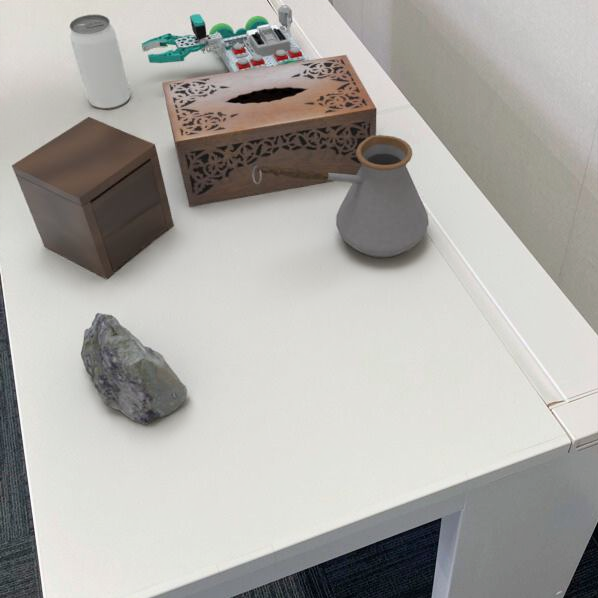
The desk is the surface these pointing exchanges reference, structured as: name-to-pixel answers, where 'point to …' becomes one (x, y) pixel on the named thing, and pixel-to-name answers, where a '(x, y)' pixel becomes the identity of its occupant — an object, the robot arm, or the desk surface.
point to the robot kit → (234, 43)
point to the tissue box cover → (267, 126)
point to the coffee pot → (374, 198)
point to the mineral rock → (129, 372)
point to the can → (99, 61)
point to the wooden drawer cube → (95, 195)
